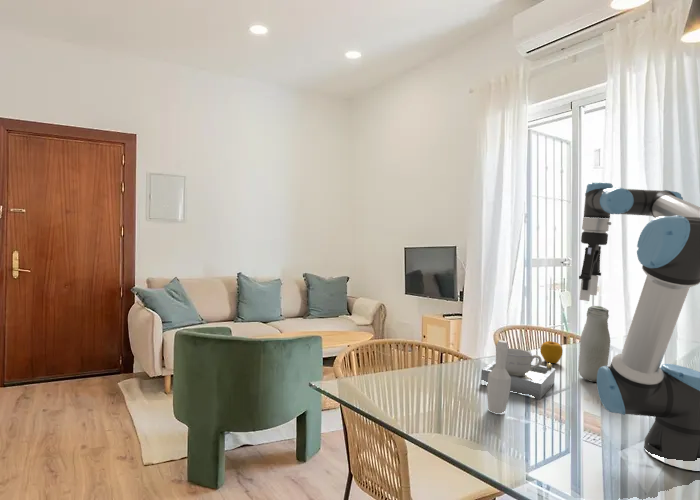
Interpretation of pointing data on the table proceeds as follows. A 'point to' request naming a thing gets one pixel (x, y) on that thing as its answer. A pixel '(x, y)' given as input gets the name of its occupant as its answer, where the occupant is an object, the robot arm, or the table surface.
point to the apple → (551, 351)
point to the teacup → (520, 362)
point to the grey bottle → (594, 343)
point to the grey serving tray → (528, 380)
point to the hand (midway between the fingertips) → (588, 297)
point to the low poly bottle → (499, 381)
